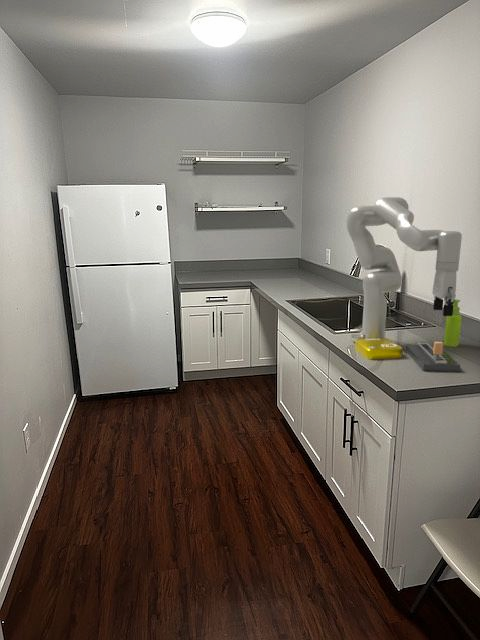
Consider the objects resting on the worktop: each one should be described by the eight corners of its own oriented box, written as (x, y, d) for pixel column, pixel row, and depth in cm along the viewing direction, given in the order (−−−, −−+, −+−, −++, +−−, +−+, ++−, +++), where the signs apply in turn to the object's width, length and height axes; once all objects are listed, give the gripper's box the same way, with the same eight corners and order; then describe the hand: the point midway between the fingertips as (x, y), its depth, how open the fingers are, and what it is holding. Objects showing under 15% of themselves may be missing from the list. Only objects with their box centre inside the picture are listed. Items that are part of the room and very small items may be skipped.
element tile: (386, 347, 195) (387, 336, 194) (403, 358, 181) (404, 347, 180) (353, 348, 193) (353, 338, 192) (367, 360, 179) (368, 349, 178)
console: (423, 370, 167) (424, 361, 166) (404, 350, 190) (405, 342, 189) (459, 371, 166) (460, 362, 165) (436, 350, 189) (437, 342, 188)
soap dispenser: (443, 341, 201) (448, 297, 196) (459, 344, 197) (465, 299, 192) (439, 344, 197) (444, 299, 192) (456, 347, 193) (461, 301, 188)
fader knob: (434, 360, 169) (436, 343, 168) (431, 357, 173) (433, 340, 171) (442, 360, 169) (444, 343, 167) (439, 357, 172) (440, 341, 171)
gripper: (428, 263, 171) (424, 307, 175) (445, 269, 154) (440, 318, 158) (448, 263, 170) (444, 307, 175) (468, 269, 154) (462, 318, 158)
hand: (442, 312), depth 166 cm, fingers open, 9 cm apart
